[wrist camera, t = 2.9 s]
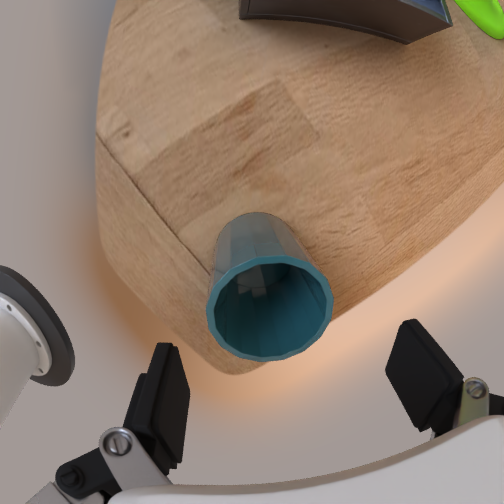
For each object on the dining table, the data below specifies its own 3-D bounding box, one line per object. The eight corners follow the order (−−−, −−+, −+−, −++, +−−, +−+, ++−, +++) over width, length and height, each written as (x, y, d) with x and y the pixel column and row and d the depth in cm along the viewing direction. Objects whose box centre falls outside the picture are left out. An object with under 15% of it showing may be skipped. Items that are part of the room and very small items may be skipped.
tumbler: (219, 290, 23) (214, 365, 15) (212, 214, 21) (198, 260, 12) (295, 285, 23) (326, 354, 15) (297, 210, 21) (339, 251, 13)
